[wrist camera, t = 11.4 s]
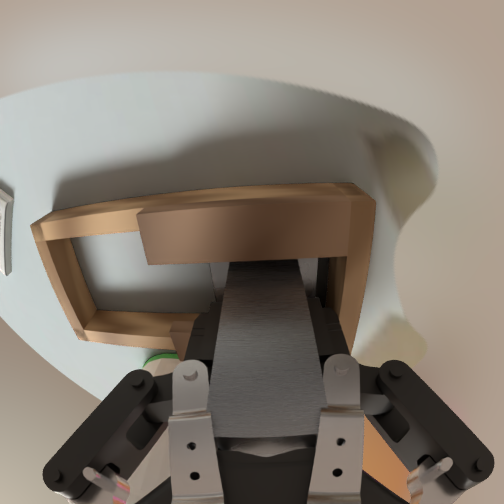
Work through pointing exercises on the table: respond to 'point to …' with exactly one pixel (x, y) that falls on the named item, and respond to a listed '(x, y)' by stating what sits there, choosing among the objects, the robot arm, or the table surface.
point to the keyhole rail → (213, 248)
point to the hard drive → (5, 232)
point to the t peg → (265, 357)
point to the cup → (157, 459)
